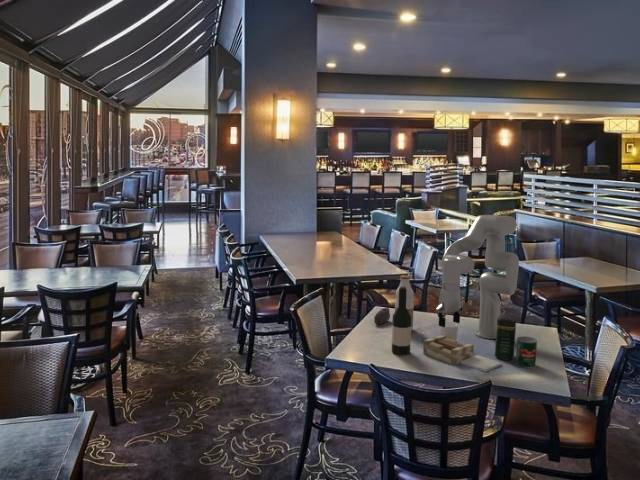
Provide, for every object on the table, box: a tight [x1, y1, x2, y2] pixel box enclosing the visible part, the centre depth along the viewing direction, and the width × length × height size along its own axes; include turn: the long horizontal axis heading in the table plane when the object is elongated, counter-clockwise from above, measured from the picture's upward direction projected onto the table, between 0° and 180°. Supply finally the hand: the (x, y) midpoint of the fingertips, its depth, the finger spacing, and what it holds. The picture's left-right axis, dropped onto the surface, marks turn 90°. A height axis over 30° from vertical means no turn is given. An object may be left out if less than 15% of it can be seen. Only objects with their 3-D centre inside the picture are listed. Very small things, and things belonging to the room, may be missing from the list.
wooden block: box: [437, 339, 464, 350], centre depth 235 cm, size 5×10×4 cm, turn 39°
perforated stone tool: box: [373, 307, 391, 326], centre depth 285 cm, size 15×5×7 cm, turn 145°
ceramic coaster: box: [460, 354, 503, 373], centre depth 226 cm, size 12×12×1 cm
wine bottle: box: [391, 286, 412, 356], centre depth 238 cm, size 8×8×30 cm
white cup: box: [440, 321, 459, 341], centre depth 250 cm, size 8×8×10 cm
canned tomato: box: [515, 336, 538, 369], centre depth 226 cm, size 8×8×11 cm
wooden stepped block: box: [422, 334, 475, 366], centre depth 236 cm, size 13×17×6 cm
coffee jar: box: [494, 314, 517, 361], centre depth 234 cm, size 10×8×19 cm
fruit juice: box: [394, 274, 415, 332], centre depth 271 cm, size 9×9×28 cm
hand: (449, 324), depth 234 cm, fingers open, 9 cm apart
